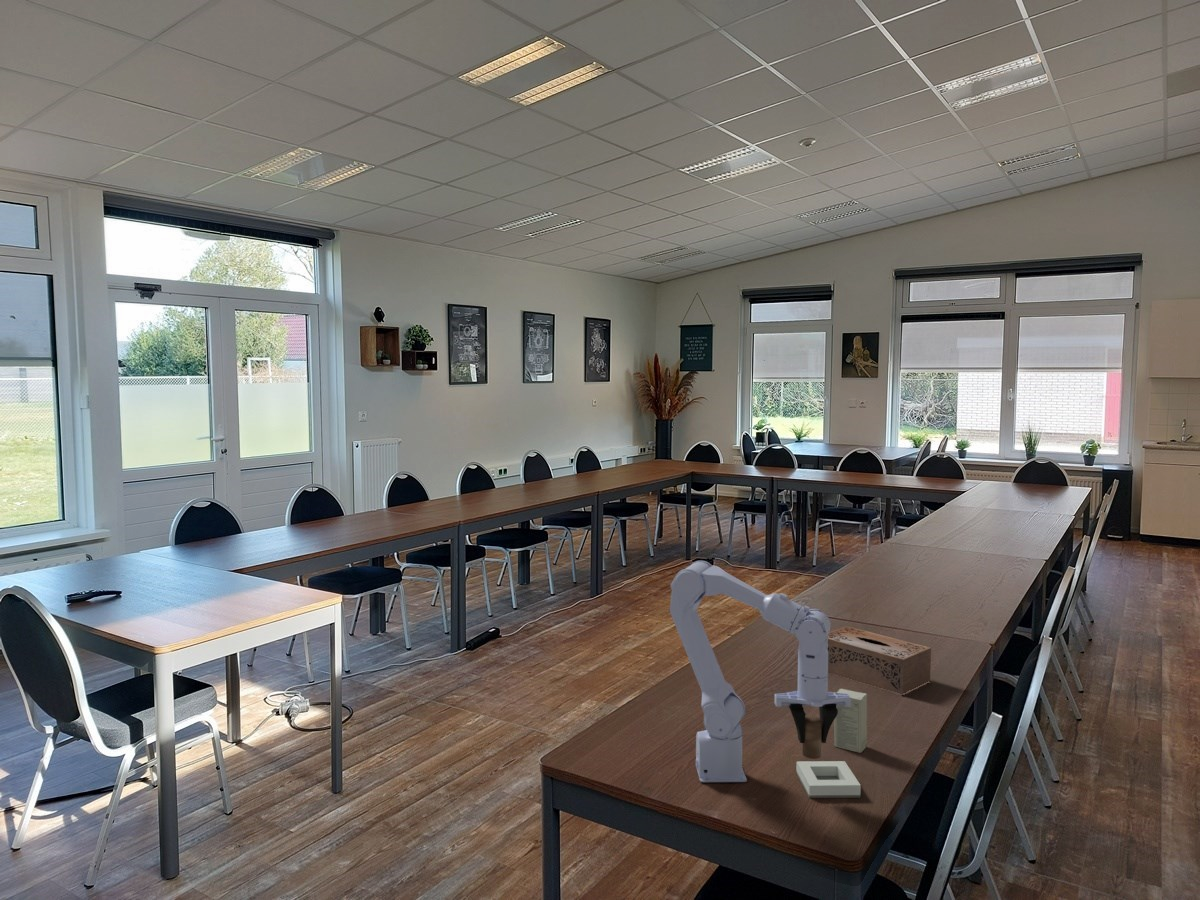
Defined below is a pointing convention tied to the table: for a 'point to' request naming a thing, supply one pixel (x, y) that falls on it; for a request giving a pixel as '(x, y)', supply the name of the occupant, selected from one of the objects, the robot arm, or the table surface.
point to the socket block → (828, 779)
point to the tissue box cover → (878, 659)
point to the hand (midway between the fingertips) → (811, 740)
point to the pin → (812, 737)
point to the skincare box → (851, 723)
